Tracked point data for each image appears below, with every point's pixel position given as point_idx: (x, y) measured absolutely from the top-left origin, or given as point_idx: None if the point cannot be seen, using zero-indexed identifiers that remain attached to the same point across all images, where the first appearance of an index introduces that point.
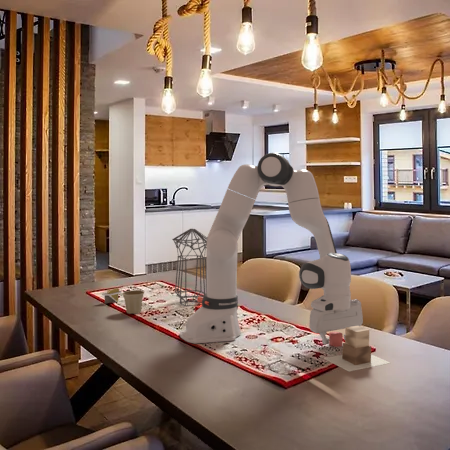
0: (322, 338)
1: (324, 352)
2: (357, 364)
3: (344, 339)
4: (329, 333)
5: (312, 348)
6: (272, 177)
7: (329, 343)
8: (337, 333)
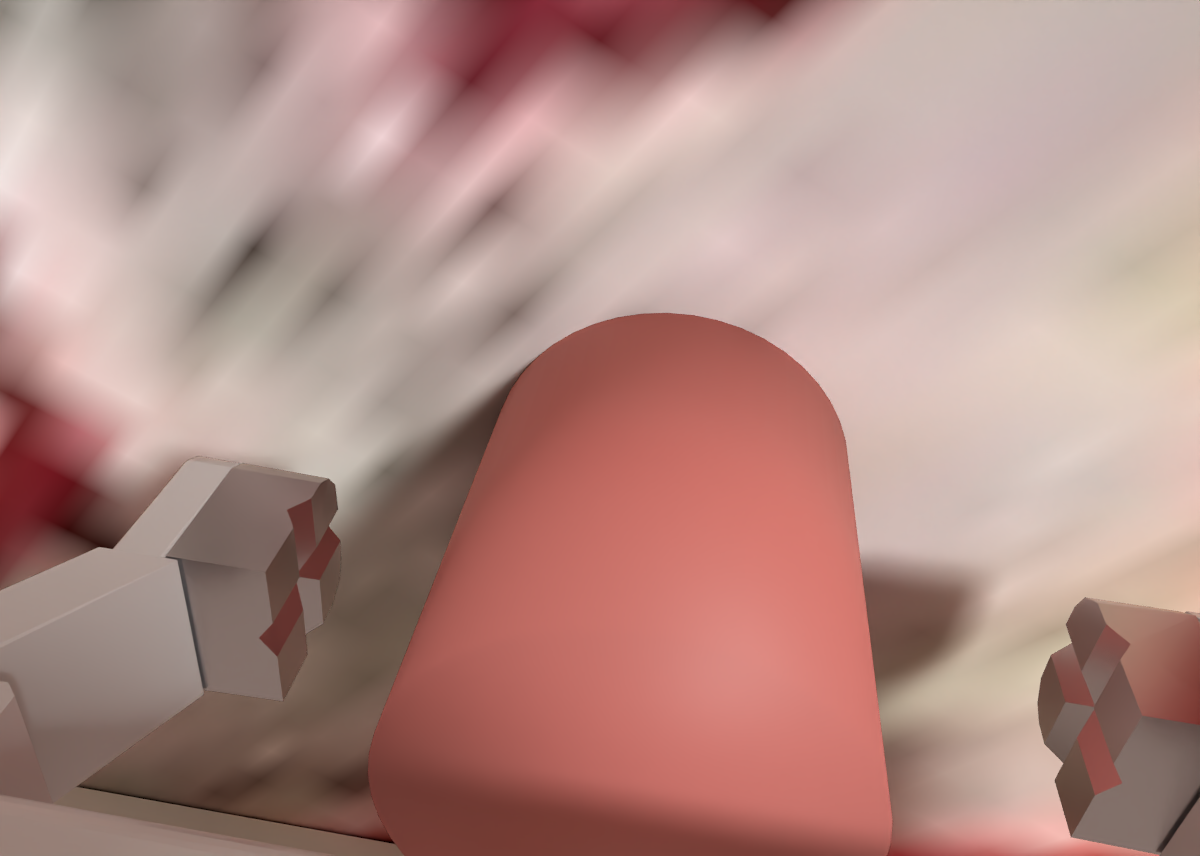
0: (104, 574)
1: None
2: None
3: (1082, 606)
4: (395, 704)
5: (53, 158)
6: None
7: (472, 483)
8: (686, 838)
